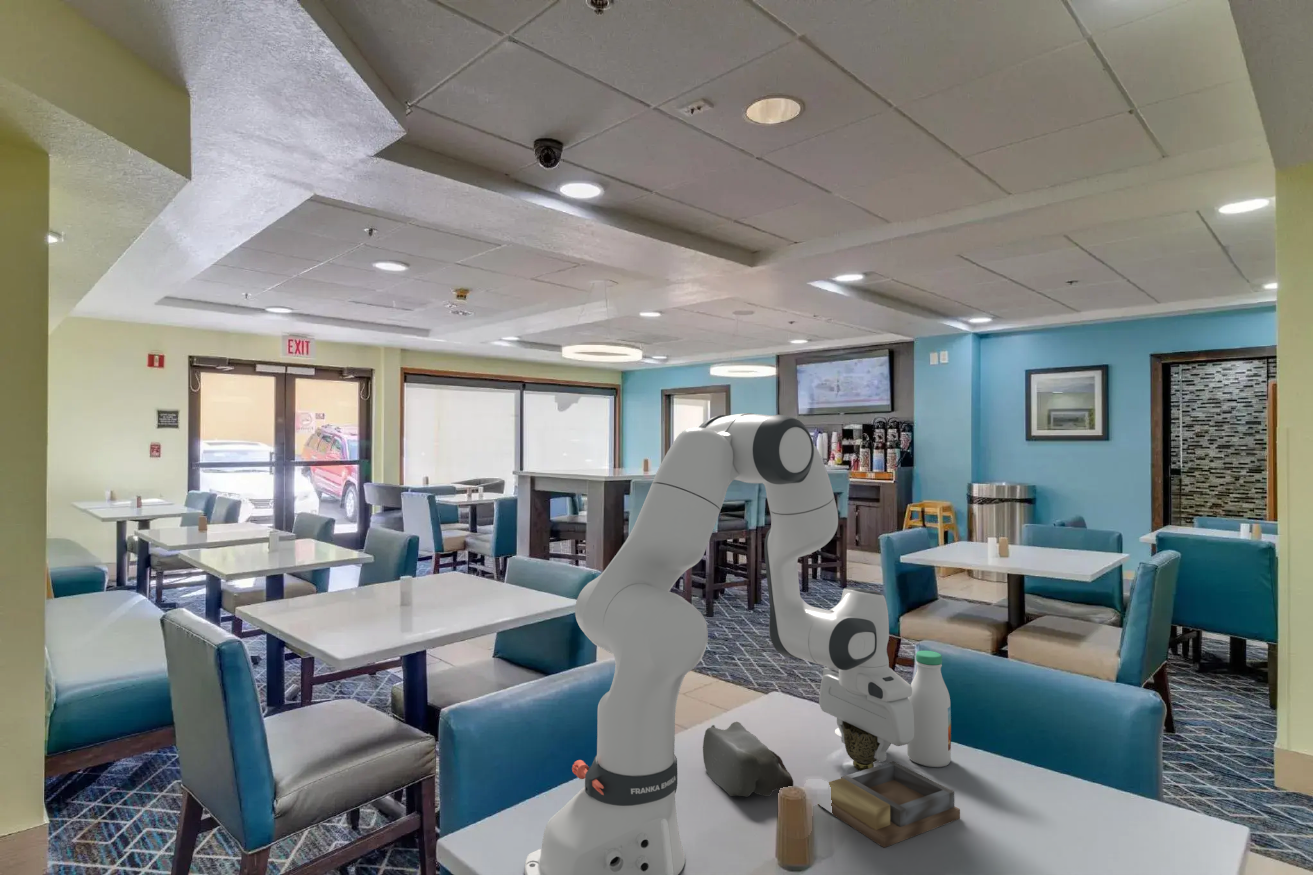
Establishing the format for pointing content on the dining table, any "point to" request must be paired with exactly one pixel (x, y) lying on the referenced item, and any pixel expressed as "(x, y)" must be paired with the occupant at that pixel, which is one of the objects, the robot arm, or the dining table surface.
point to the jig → (891, 803)
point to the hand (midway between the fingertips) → (863, 751)
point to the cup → (860, 746)
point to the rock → (742, 762)
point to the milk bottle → (930, 713)
